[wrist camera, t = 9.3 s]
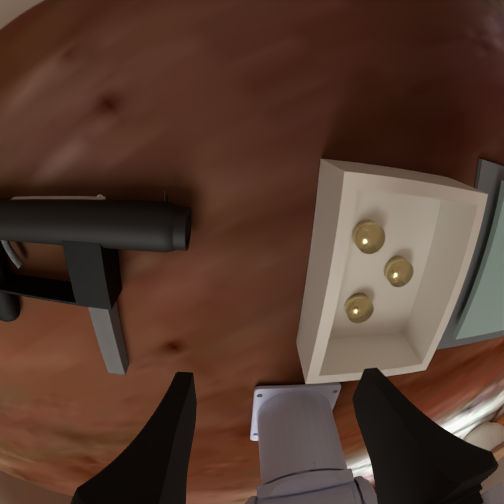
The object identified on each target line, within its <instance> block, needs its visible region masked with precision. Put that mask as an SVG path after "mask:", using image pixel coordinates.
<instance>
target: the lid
mask: <svg viewBox="0 0 504 504" xmlns="http://www.w3.org/2000/svg"><path fill="white" fill-rule="evenodd" d="M502 330H504V181H503V180H502V181H501V187H500V192H499V197H498V202H497V207H496V211H495V215H494V219H493V224H492V227H491V231H490V235H489V239H488V242H487V246H486V249H485V252H484V256H483V259H482V262H481V265H480V268H479V271H478V274H477V277H476V280H475V282H474V285H473V288H472V291H471V293H470V296H469V298H468V301H467V303H466V306H465V308H464V311H463V313H462V315H461V318H460V320H459V322H458V325H457V327H456V329H455V331H454V334H453V337H454V338H455V339H462V338H467V337H473V336H478V335H483V334H488V333H493V332H497V331H502Z"/></svg>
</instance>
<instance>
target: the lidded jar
mask: <svg viewBox="0 0 504 504" xmlns="http://www.w3.org/2000/svg"><path fill="white" fill-rule="evenodd" d="M464 441H466V442H468V443H470V444H472V445H475V446H477V447H480V448H483V449H486V450H488V451H491V452H492V453H493V455H494V457H495V459H496V461H498V460H499V459H500V458H501V457H503V455H504V427H503V426H502V425H500V424H498V423H490V422H489V421H487V422H485V423H483V424H481V425H479V426H478V427H476V428H475V429H474V430H472V431H471V432H470V433H469V434H468V435H467V436H466V437H465V439H464Z"/></svg>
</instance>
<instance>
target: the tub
mask: <svg viewBox="0 0 504 504" xmlns="http://www.w3.org/2000/svg"><path fill="white" fill-rule="evenodd" d="M487 197H488V194H486V193H484V192H482V191H480V190H477V189H475V188H473V187H470V186H468V185H466V184H463V183H461V182H459V181H456V180H454V179H451V178H449V177H444V176H439V175H434V174H429V173H423V172H418V171H412V170H406V169H400V168H393V167H387V166H380V165H373V164H365V163H357V162H349V161H340V160H330V159H320V170H319V180H318V189H317V199H316V207H315V216H314V224H313V232H312V240H311V248H310V255H309V263H308V270H307V277H306V283H305V290H304V296H303V303H302V309H301V315H300V321H299V327H298V333H297V339H296V345H297V349H298V353H299V358H300V362H301V366H302V371H303V375H304V379H305V384H317V383H330V382H342V381H352V380H360V379H361V376H362V374H363V371H364V369H367V368H376V367H377V368H378V369H379V370H380V371H381V372H382V373H383V374H384V375H385V376H392V375H399V374H405V373H411V372H417V371H422V370H426V368H427V366H428V364H429V363H430V361H431V359H432V357H433V355H434V352H435V350H436V348H437V346H438V344H439V342H440V340H441V338H442V335H443V333H444V331H445V329H446V326H447V324H448V322H449V319H450V317H451V315H452V312H453V310H454V307H455V305H456V302H457V300H458V297H459V294H460V292H461V289H462V286H463V283H464V280H465V278H466V275H467V272H468V269H469V266H470V262H471V259H472V256H473V253H474V249H475V246H476V242H477V239H478V235H479V231H480V228H481V224H482V220H483V215H484V211H485V207H486V202H487ZM365 219H370V220H373V221H374V222H376V223H377V224H378V225H379V226H380V227H381V228H382V229H383V230H384V232H385V242H384V245H383V246H382V248H381V249H380V250H379V251H377V252H376V253H373V254H365V253H363V252H361V251H360V250H359V248H358V247H357V246H356V245H355V244H354V242H353V240H352V231H353V229H354V227H355V225H356V224H357V223H359V222H360V221H362V220H365ZM394 256H403V257H404V258H405V259H406V260H407V261H408V262H409V263H410V264H411V265H412V266H413V270H414V272H413V276H412V278H411V280H410V281H409V282H408V283H407V284H406V285H404V286H402V287H394V286H392V285H391V283H390V282H389V281H388V280H387V279H386V277H385V276H384V267H385V264H386V263H387V261H388V260H389V259H391V258H392V257H394ZM355 293H364V294H366V295H367V296H368V298H369V299H370V301H371V302H372V304H373V306H374V311H373V314H372V315H371V317H370V318H369V319H368V320H366V321H364V322H362V323H353V322H351V321H350V320H349V318H348V316H347V314H346V312H345V310H344V304H345V301H346V300H347V299H348V297H350V296H351V295H353V294H355Z"/></svg>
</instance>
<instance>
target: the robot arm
mask: <svg viewBox="0 0 504 504" xmlns="http://www.w3.org/2000/svg"><path fill="white" fill-rule="evenodd" d="M340 390H341V384H340V383H339V382H334V383H321V384H305V385H280V386H257V387H256V388H255V389H254V399H253V411H252V422H251V433H250V439H251V440H253V441H259V455H260V470H261V484H262V485H260V486H257V496H252V497H250V498H249V499H248V501H247V502H246V503H245V504H504V486H503V484H502V483H500V484H498V485H496V486H495V487H493V488H491V489H490V490H488V491H486V492H485V493H483V494H482V495H480V492H479V491H480V490H482V486H481V484H480V483H481V482H482V481H484V480H485V479H486V478H488V476H490V475H491V474H492V473H493V472H494V471H495V470H496V469H497V467H498V463H497V461H496V459H495V457H494V455H493V453H492V452H491V451H488V450H486V449H483V448H480V447H477V446H475V445H472V444H470V443H468V442H466V441H464V440H462V439H460V438H458V437H456V436H455V435H453V434H451V433H450V432H448V431H446V430H445V429H443V428H442V427H440V426H439V425H438V424H436V423H435V422H434V421H432V420H431V419H429V418H428V417H427V416H426V415H425V414H423V413H422V412H421V411H420V410H419V409H418V408H417V407H415V406H414V405H413V404H412V403H411V402H410V401H409V400H408V399H407V398H406V397H405V396H404V395H403V394H402V393H401V392H400V391H399V390H398V389H397V388H396V387H395V386H394V385H393V384H392V383H391V382H390V381H389V380H388V378H387V377H386V376H385V375H384V374H383V373H382V372H381V371H380V370H379V369H378V368H377V367H376V368H367V369H364V371H363V374H362V376H361V379H360V381H359V384H358V386H357V389H356V391H355V393H354V396H353V404H354V409H355V414H356V418H357V421H358V424H359V427H360V430H361V433H362V436H363V439H364V442H365V445H366V448H367V451H368V454H369V457H370V460H371V464H372V469H373V474H374V479H375V486H376V493H377V497H376V494H375V491H374V489H373V486H372V484H371V483H370V482H369V481H368V480H366V479H364V478H363V477H362V476H358V477H355V478H354V477H353V473H352V469H347V465H346V461H345V458H344V454H343V450H342V446H341V442H340V439H339V435H338V431H337V428H336V424H335V420H334V417H333V413H332V410H333V408H334V405H335V403H336V400H337V398H338V395H339V392H340ZM196 406H197V401H196V394H195V386H194V377H193V373H189V372H177V373H176V374H175V376H174V379H173V381H172V383H171V385H170V387H169V389H168V391H167V392H166V394H165V396H164V398H163V399H162V401H161V403H160V404H159V406H158V407H157V409H156V411H155V412H154V414H153V415H152V417H151V418H150V419H149V421H148V422H147V424H146V425H145V426H144V428H143V429H142V430H141V432H140V433H139V434H138V435H137V437H136V438H135V439H134V440H133V441H132V442H131V443H130V445H129V446H128V447H127V448H126V449H125V450H124V451H123V452H122V453H121V454H120V455H119V456H118V457H117V458H116V459H115V460H114V461H113V462H111V463H110V464H109V465H108V466H107V467H105V468H104V469H103V470H102V471H101V472H99V473H98V474H97V475H95V476H94V477H93V478H91V479H90V480H88V481H87V482H85V483H84V484H82V485H81V486H79V487H78V488H77V490H76V492H75V494H74V496H73V498H72V501H71V504H186V482H187V470H188V463H189V458H190V452H191V446H192V440H193V435H194V429H195V422H196Z"/></svg>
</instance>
